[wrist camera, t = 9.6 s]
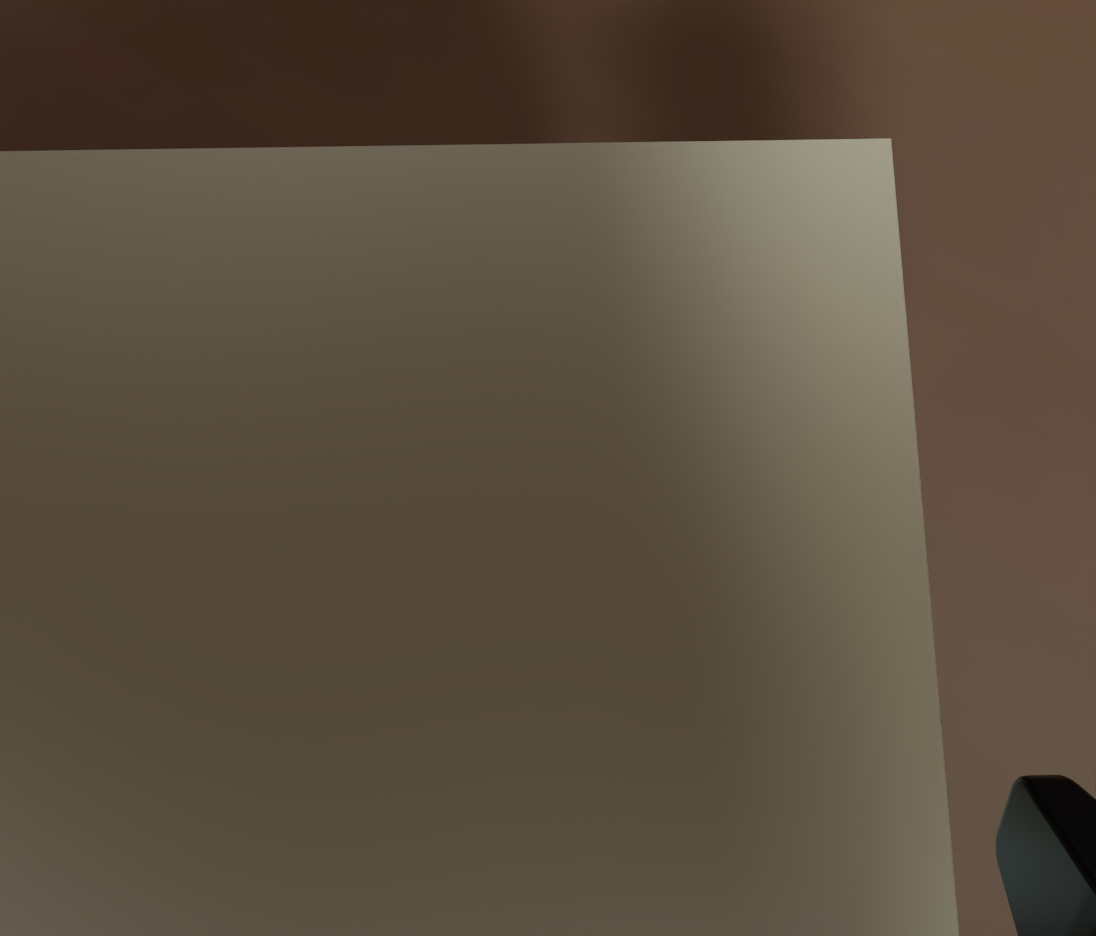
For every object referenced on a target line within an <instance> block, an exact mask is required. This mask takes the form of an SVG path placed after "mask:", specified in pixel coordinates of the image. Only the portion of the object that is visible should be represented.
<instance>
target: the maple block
mask: <svg viewBox="0 0 1096 936" xmlns="http://www.w3.org/2000/svg"><path fill="white" fill-rule="evenodd" d="M0 936H959V928H958V916H957V905H956V893H955V881H954V870H953V858H952V846H951V835H950V823H949V811H948V800H947V788H946V776H945V764H944V753H943V741H942V729H941V718H940V706H939V694H938V683H937V671H936V659H935V648H934V636H933V624H932V612H931V601H930V589H929V577H928V566H927V554H926V542H925V531H924V519H923V507H922V496H921V484H920V472H919V461H918V449H917V437H916V425H915V414H914V402H913V390H912V379H911V367H910V355H909V344H908V332H907V320H906V309H905V297H904V285H903V274H902V262H901V250H900V238H899V227H898V215H897V203H896V192H895V180H894V168H893V157H892V145H891V139H825V140H755V141H685V142H615V143H544V144H474V145H404V146H334V147H264V148H194V149H124V150H54V151H0Z"/></svg>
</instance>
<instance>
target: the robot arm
mask: <svg viewBox="0 0 1096 936" xmlns="http://www.w3.org/2000/svg"><path fill="white" fill-rule="evenodd" d="M996 855H997V861H998V865H999V869H1000V872H1001V876H1002V880H1003V883H1004V887H1005V890H1006V894H1007V897H1008V901H1009V905H1010V908H1011V912H1012V915H1013V919H1014V923H1015V926H1016V930H1017V933H1018V936H1096V799H1095V798H1094V797H1092V796H1091V795H1090V794H1089V793H1088V792H1086V791H1085V790H1084V789H1083V788H1082V787H1081V786H1079V785H1078V784H1077V783H1076V782H1074V781H1073V780H1071V779H1069V778H1067V777H1065V776H1061V775H1029V776H1021V777H1019V778H1018V779H1017V780H1016V781H1015V782H1014V784H1013V786H1012V788H1011V791H1010V794H1009V797H1008V801H1007V804H1006V807H1005V810H1004V813H1003V816H1002V819H1001V822H1000V825H999V828H998V832H997V836H996Z"/></svg>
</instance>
